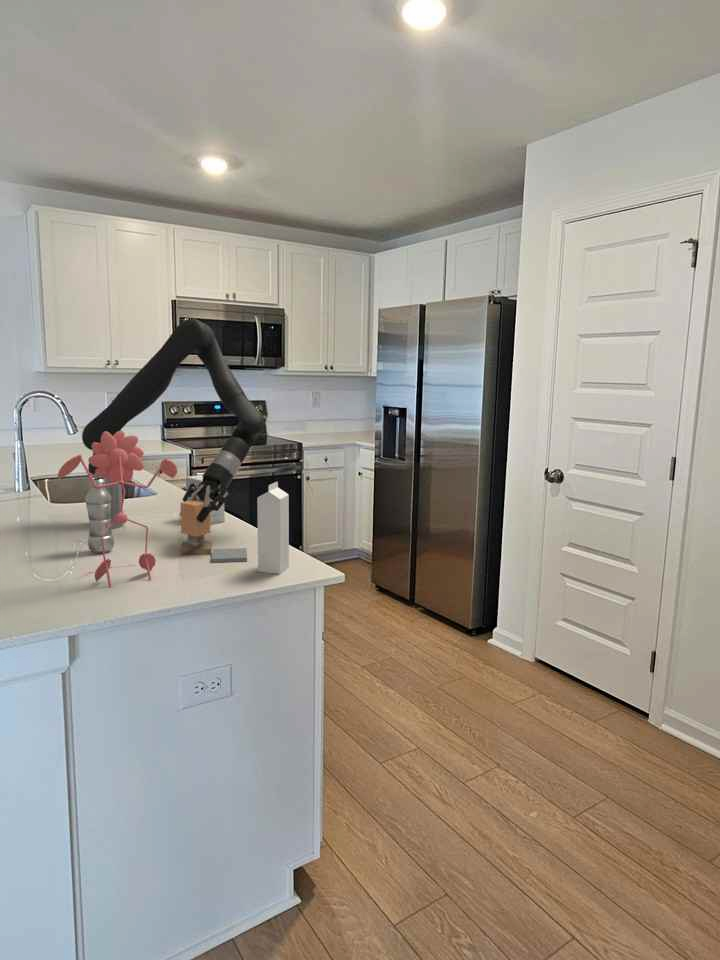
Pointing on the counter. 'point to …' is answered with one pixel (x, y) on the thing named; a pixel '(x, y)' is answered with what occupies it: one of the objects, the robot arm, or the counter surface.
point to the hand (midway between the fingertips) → (190, 518)
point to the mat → (229, 555)
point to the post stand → (196, 546)
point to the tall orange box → (193, 519)
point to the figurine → (118, 481)
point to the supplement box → (214, 515)
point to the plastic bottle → (99, 517)
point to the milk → (273, 530)
